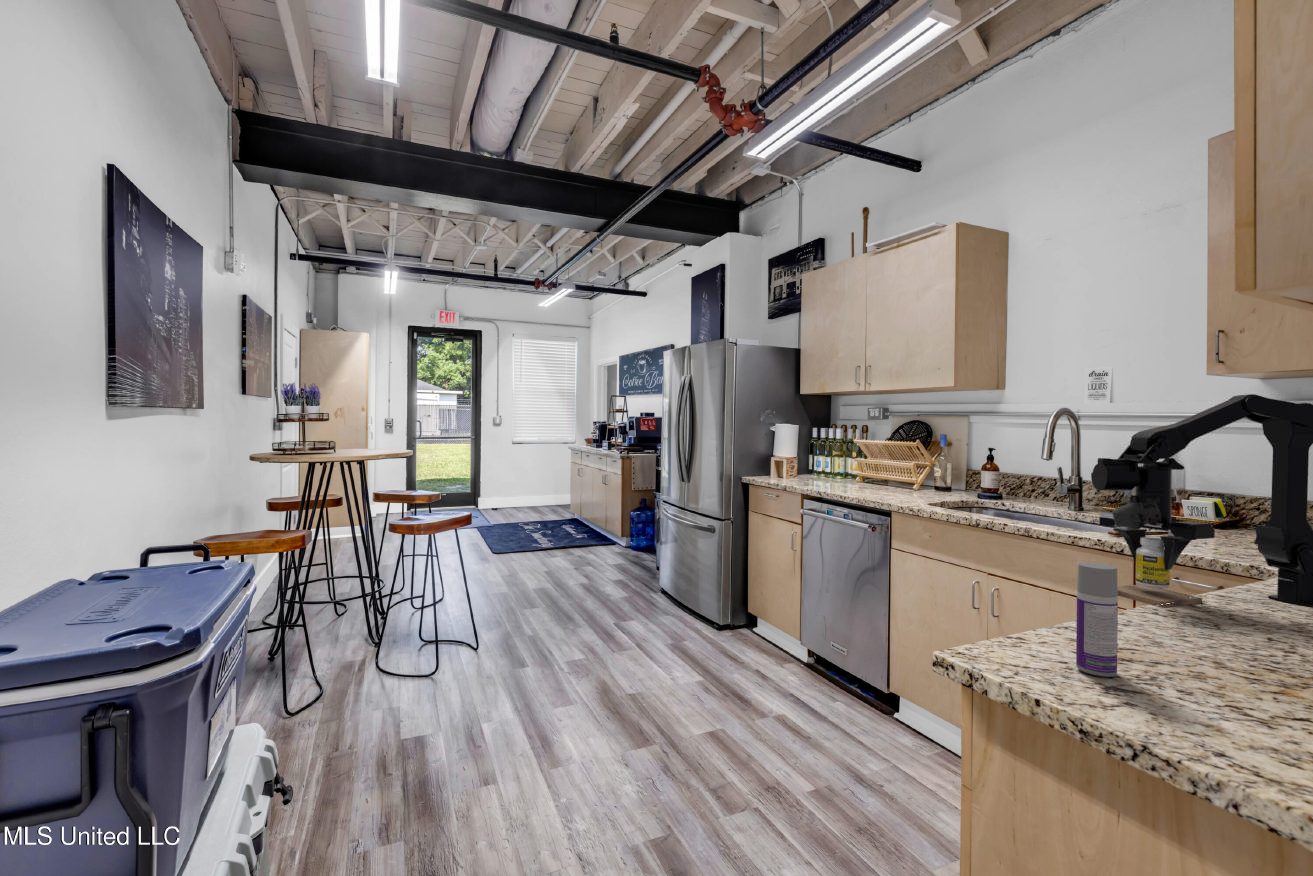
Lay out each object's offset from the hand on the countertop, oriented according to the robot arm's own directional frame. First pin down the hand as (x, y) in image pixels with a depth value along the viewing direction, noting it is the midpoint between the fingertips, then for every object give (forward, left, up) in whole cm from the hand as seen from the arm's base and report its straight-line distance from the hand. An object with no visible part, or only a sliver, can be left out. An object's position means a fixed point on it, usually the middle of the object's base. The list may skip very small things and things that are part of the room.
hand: (1152, 566), depth 121 cm
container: (+48, +26, -7) cm, 55 cm away
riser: (0, 0, -7) cm, 7 cm away
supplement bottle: (0, 0, -4) cm, 4 cm away
